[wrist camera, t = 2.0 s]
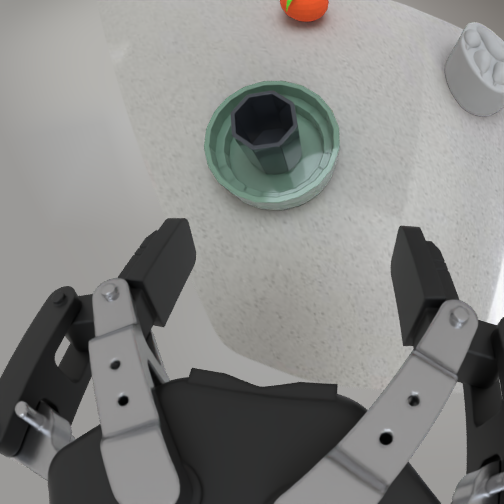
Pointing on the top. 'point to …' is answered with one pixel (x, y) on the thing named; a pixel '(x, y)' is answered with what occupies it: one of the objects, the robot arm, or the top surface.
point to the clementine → (304, 9)
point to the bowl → (281, 185)
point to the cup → (267, 131)
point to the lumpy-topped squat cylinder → (477, 70)
